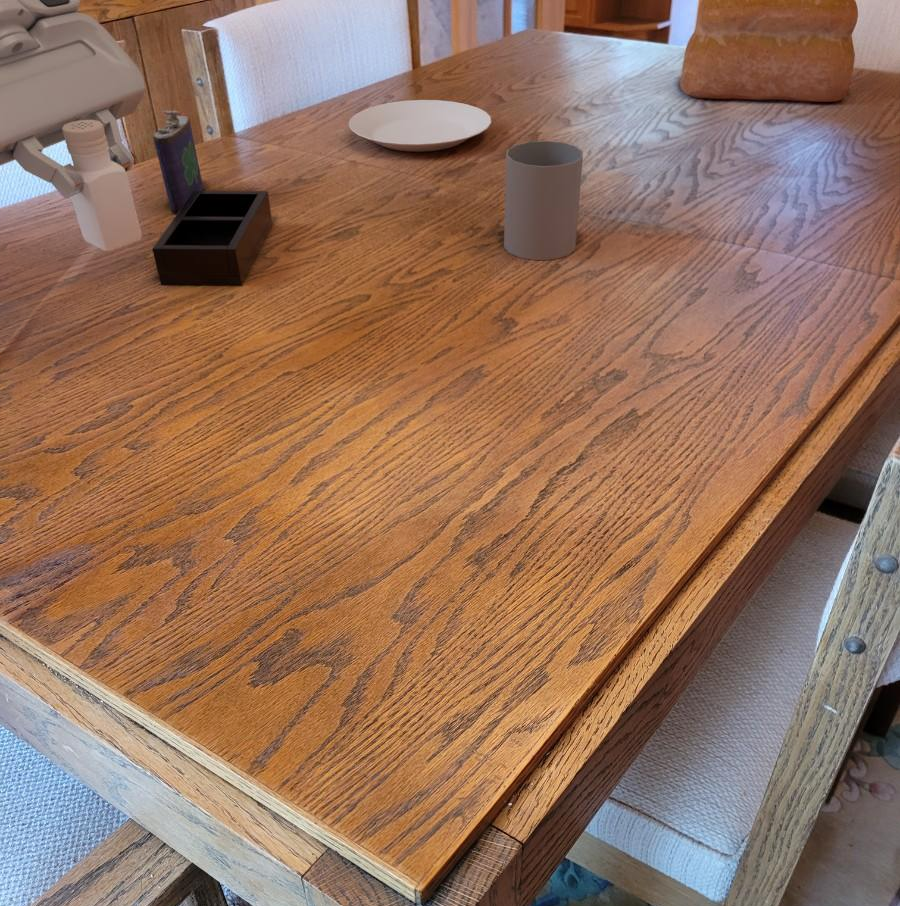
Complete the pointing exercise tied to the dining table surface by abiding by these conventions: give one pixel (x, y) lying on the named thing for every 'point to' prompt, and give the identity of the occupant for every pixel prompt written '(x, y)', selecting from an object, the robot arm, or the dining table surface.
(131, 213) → the salt shaker
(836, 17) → the bread
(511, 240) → the cup
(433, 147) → the plate
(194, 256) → the box
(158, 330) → the dining table surface
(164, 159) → the flask
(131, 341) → the dining table surface
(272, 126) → the dining table surface
